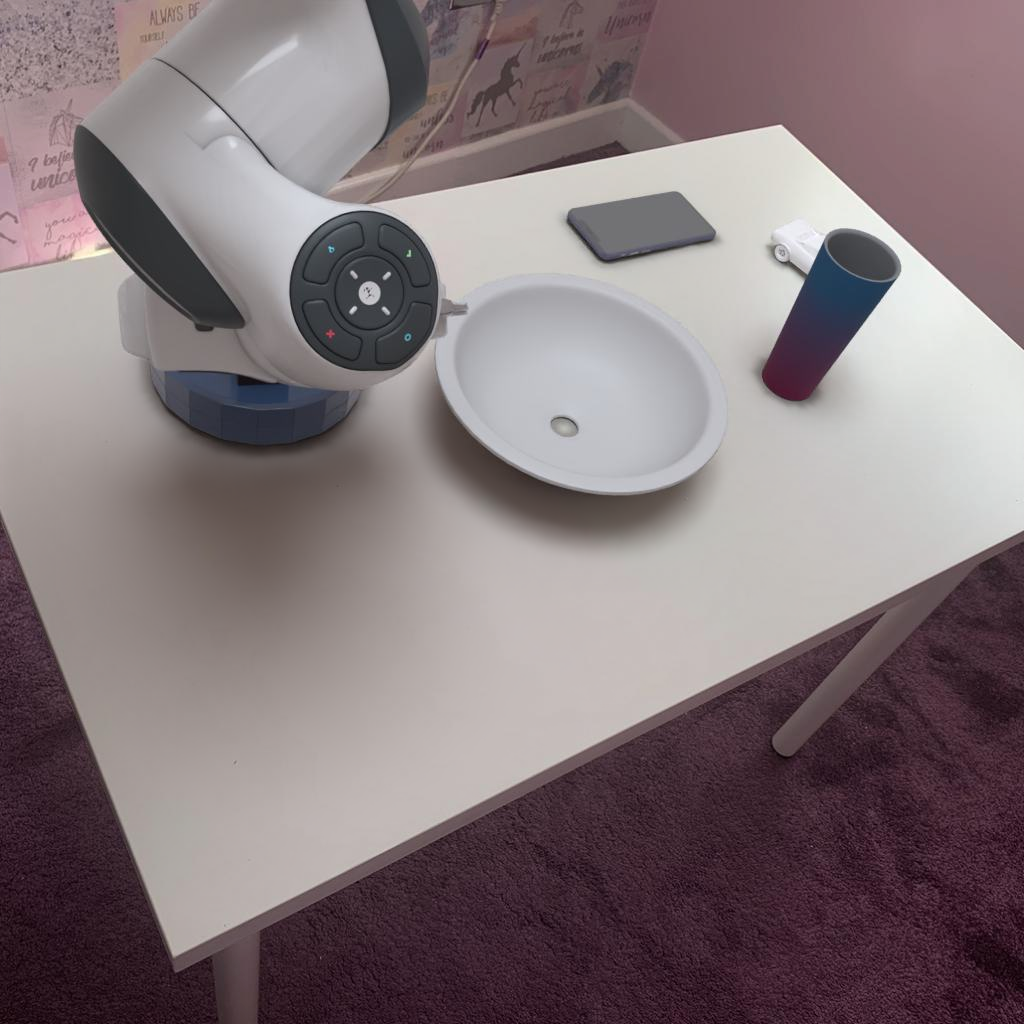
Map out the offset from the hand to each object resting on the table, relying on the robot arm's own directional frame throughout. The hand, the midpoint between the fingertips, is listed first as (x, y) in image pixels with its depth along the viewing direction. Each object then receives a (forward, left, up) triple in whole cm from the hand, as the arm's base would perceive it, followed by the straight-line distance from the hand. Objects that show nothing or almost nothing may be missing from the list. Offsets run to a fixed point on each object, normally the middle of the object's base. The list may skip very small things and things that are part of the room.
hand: (272, 319), depth 74 cm
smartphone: (+41, +24, -11) cm, 49 cm away
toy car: (+59, +17, -11) cm, 62 cm away
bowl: (0, +6, -11) cm, 12 cm away
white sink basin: (+24, -2, -11) cm, 27 cm away
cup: (+48, +2, -11) cm, 49 cm away
